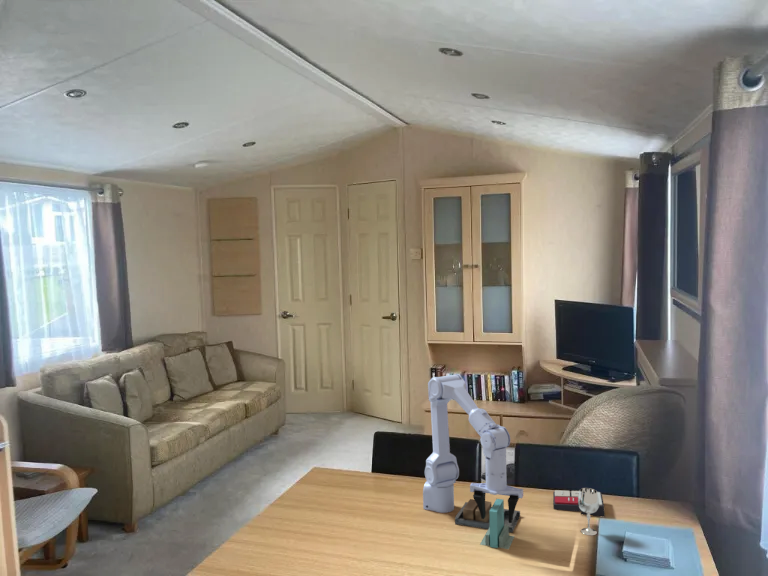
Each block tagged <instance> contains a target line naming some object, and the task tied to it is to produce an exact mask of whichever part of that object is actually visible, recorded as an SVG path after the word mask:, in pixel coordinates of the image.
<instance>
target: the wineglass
mask: <svg viewBox="0 0 768 576" xmlns="http://www.w3.org/2000/svg"><path fill="white" fill-rule="evenodd" d="M578 491H579V496H578V506H579V508H580V509H581V510H582V511H583V512H585V513H588V514H587V515H586V519H587V527H583V528H581V529H580V532H581V534H583V535H587V536H595V535H597V534H598V531H597V530H595V529H593V528H591V527H590V526H591V525H590V524H591V522H590V521H591V517H592V516H590V514H591V513H594V512H596V511H597V510H598V508H599V499H598V494H597V492H598V491H597V490H596V489H594V488H591V487H582V488H580V489H579V490H578Z"/></svg>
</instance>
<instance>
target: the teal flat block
mask: <svg viewBox="0 0 768 576" xmlns="http://www.w3.org/2000/svg"><path fill="white" fill-rule="evenodd" d="M504 502H505V500H504V499H503V498H496V499H495V500H494V502H493V504H492V507H491V509H490V511H489V515H490V546H489V547H490V548H495V549H498V546H499V536H500V534H501V532H502V530H503V528H504V509H505V508H504V507H505V505H504V504H505V503H504Z"/></svg>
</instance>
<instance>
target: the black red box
mask: <svg viewBox="0 0 768 576" xmlns="http://www.w3.org/2000/svg"><path fill="white" fill-rule="evenodd" d="M579 491H580V490H571V491H570V490H559V489H558V490H557V489H556V490H554V491H553V492H552V495H553V496H552V500H553V501H552V502H553V503H552V505H553V510H555V511H556V510H557V511H568V512H569V511H570V512H580V515H581V514H583V516H587V514H588V513H585V512H583V511H582V510H581V509H580V508H579V506H578V496H579ZM597 494H598V499H599V508H598V510H597V511H596V512H594V513H591V514H590V515H593V516H592V517H600V516H602V518H604V517H605V516H606V514H605V503H604V498H603V494H602V492H600V491H597Z"/></svg>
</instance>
